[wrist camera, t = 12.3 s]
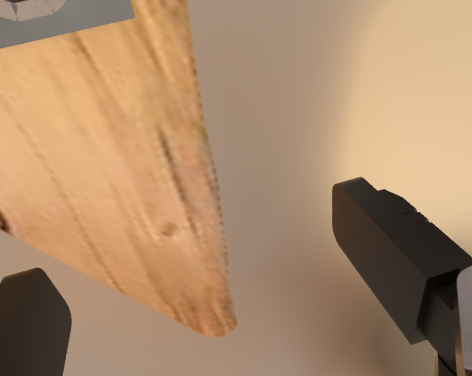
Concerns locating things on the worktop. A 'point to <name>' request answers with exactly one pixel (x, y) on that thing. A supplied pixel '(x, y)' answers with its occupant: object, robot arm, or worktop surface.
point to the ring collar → (29, 8)
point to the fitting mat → (65, 20)
